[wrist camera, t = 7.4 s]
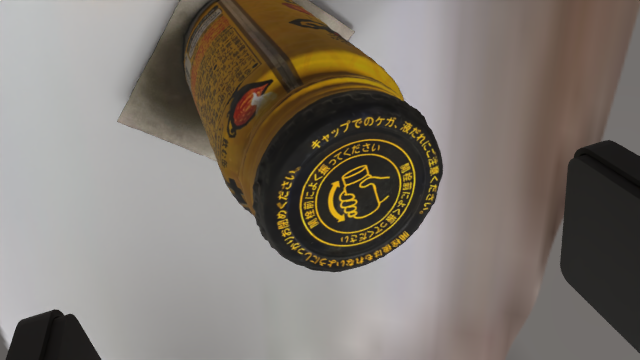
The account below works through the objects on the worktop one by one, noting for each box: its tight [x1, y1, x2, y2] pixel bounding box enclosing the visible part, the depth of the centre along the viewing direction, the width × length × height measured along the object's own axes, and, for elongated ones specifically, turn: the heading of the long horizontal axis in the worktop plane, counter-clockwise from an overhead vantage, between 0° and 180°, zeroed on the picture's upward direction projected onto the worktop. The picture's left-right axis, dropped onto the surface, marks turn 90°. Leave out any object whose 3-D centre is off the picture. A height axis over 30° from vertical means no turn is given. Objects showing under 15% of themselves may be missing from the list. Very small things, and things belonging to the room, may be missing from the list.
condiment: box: [117, 0, 443, 272], centre depth 19 cm, size 7×8×12 cm
